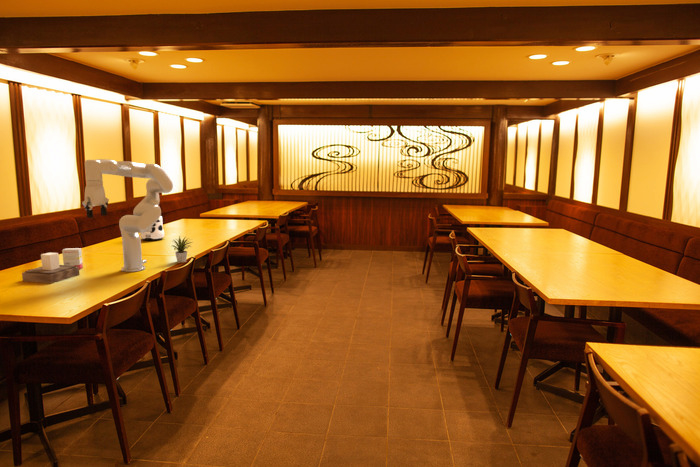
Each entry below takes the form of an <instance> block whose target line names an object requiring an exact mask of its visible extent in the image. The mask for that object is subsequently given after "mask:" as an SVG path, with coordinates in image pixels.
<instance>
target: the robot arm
mask: <svg viewBox="0 0 700 467" xmlns="http://www.w3.org/2000/svg"><path fill="white" fill-rule="evenodd" d="M84 170H85V183H86V184H85V185H86V186H85V187H84V188H85V189H84V200H83V201H81V203H82V205H83V208H84V209H85V211H86V217H87V218H89V219H90V218H91V219H92V218H94V211H93V207H96V206H98V207H99V206H100V215H101V216H108V210H107V208H108V205H109V201H110V199H109V198H108V197H106V191H105V188H104V182H103V175H112V176H119V177H126V178H127V177H128V178H139V179H148V180H147V181H146V184H145V188H146V189H145V190H146V194H145V196H144V198H143V199H142V200H141V201H140V202H138V204H137V205H136V206H135V207H134V208H133V213H132V214H125V215H124V216H121V218H120V219H119V220H118V221H119V222H118V225H119V226H118V227H119V230H120V234H121V240H122V254H123V255H122V257H123V258H122V259H123V266H122V267H121V270H120V271H122V272H124V273H126V272H127V273H129V272H130V273H132V272H133V273H134V272H140V271H143V270H146V265H144V264H146V263H147V261H148V260H147V259H143V256H142V255H143V254H142V253H143V252H142V238H141V236H140V233H144V232H146V231H148V230H149V229H150V228H151V227H152V226H153V225H154V224H155V222H156V221H157V220H158V219H159V218H160V216H162V210H161V207H160V201H161V200H160V199H161V198H160V193H161V194H163V193H164V194H168V193H170V192H172V190H173V189H174V184H173V181H172V180H171V178H170V177H169V175H168V174H167V173H166V172H165V170H164V169H163V168H162V167H161V166H160V165H158V164H156V163H144V162H143V163H142V162H135V161H129V160H128V161H126V160H120V161H118V160H117V161H115V160H113V159H109V158H108V159H106V158H104V159H103V158H102V159H101V158H97V159H86V160H84Z"/></svg>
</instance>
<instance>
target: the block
mask: <svg viewBox="0 0 700 467" xmlns="http://www.w3.org/2000/svg"><path fill="white" fill-rule="evenodd" d="M40 255H41V257H40V260H41V267H42V269H44V270H53V269H57V268H60V265H61V264H60V257H59V255H60V254H59V253H58V252H46V253H41V254H40Z"/></svg>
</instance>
